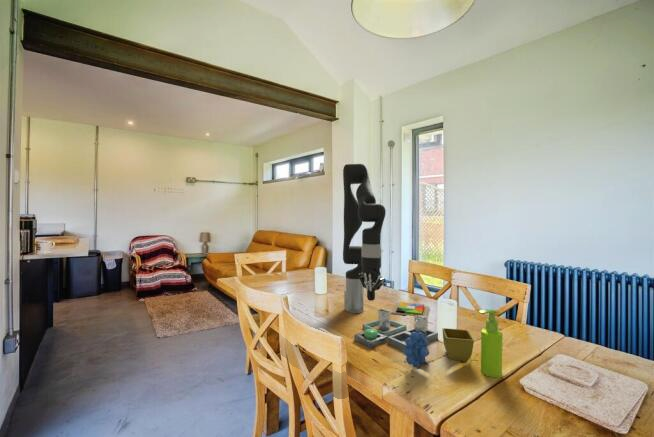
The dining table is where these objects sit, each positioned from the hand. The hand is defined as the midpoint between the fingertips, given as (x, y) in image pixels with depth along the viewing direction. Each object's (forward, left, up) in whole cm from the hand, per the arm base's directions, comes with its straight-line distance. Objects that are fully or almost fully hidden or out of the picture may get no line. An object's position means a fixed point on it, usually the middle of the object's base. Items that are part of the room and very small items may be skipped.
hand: (371, 300), depth 119 cm
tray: (-5, +13, -17) cm, 22 cm away
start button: (0, 0, -15) cm, 15 cm away
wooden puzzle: (-15, +43, -18) cm, 49 cm away
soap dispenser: (+38, +15, -17) cm, 44 cm away
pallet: (+10, +13, -17) cm, 24 cm away
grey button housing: (0, 0, -17) cm, 17 cm away
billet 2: (+10, +18, -16) cm, 26 cm away
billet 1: (-5, +13, -16) cm, 21 cm away
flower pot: (+27, +15, -17) cm, 35 cm away
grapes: (+23, -1, -17) cm, 29 cm away
